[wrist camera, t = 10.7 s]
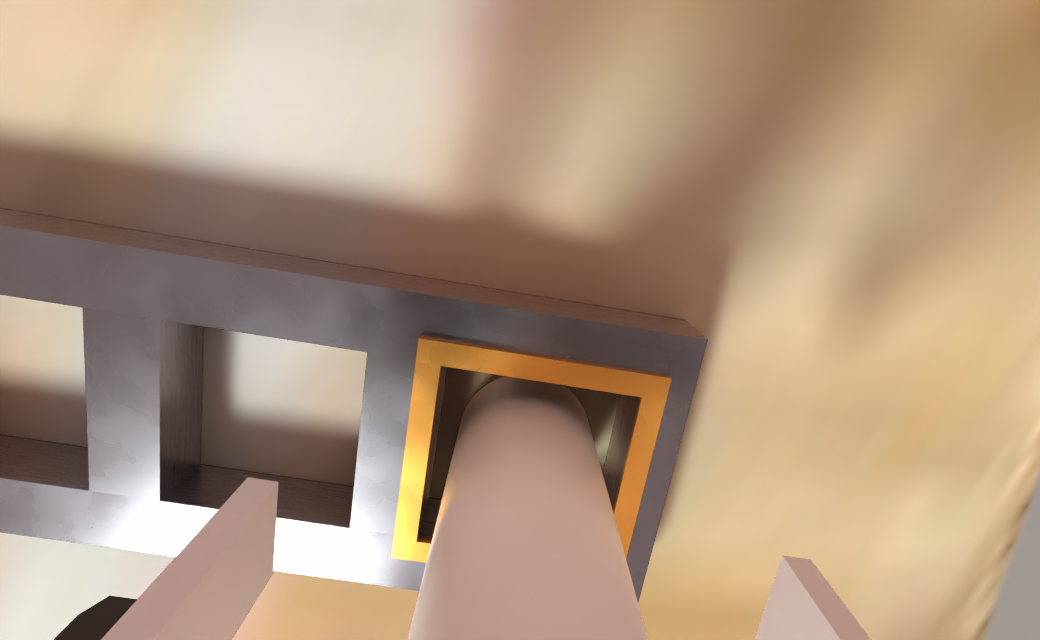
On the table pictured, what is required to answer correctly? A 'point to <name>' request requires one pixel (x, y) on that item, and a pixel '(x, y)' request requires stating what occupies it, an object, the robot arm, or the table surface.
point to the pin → (526, 528)
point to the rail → (325, 321)
